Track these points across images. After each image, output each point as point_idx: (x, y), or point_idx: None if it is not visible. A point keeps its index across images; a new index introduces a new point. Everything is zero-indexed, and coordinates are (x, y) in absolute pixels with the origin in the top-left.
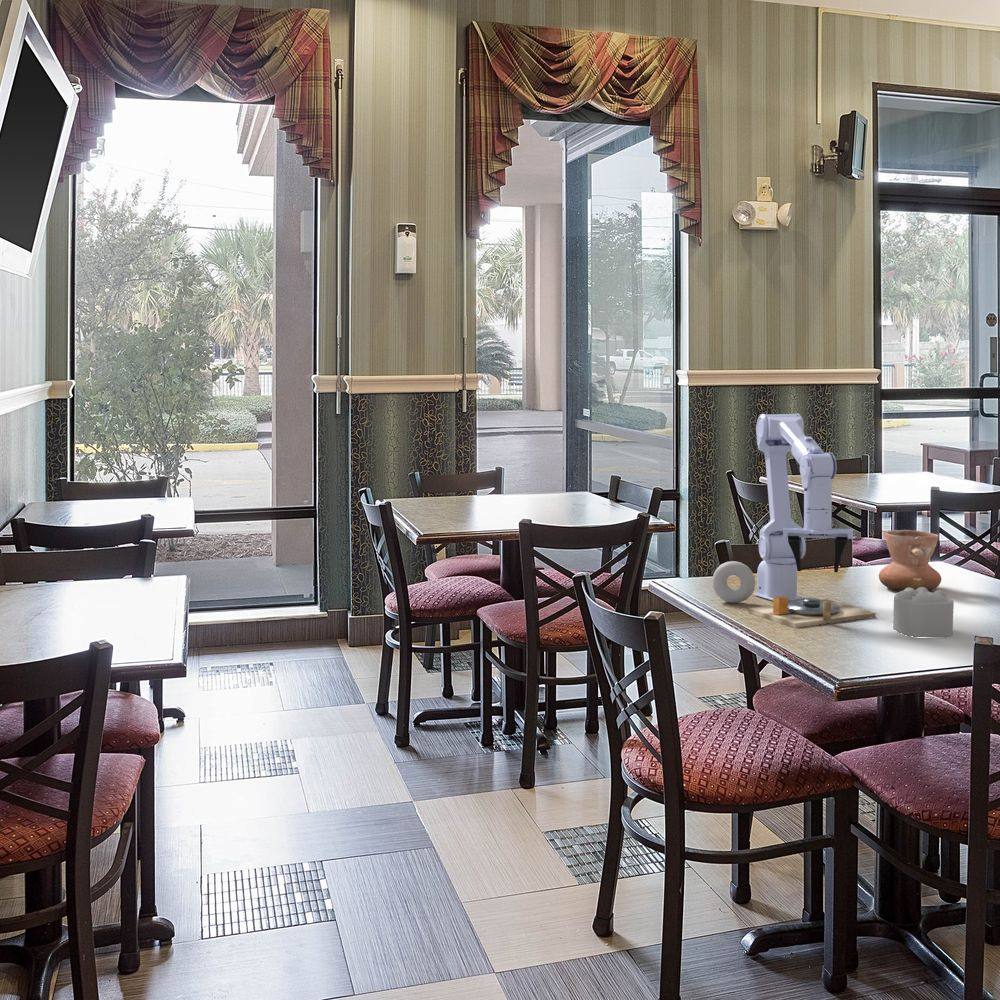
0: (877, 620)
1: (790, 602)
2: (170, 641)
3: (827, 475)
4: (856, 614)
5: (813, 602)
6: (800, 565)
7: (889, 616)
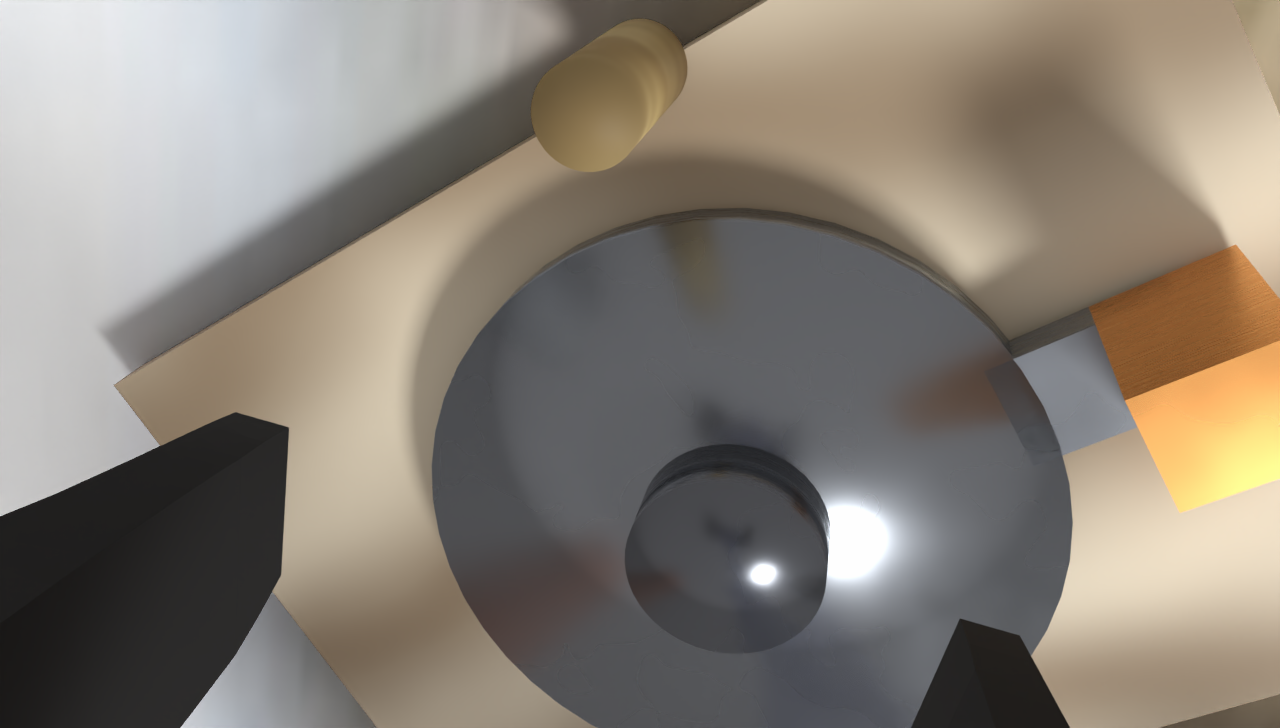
0: (125, 246)
1: None
2: None
3: None
4: (293, 320)
5: (721, 477)
6: (969, 713)
7: (27, 405)
